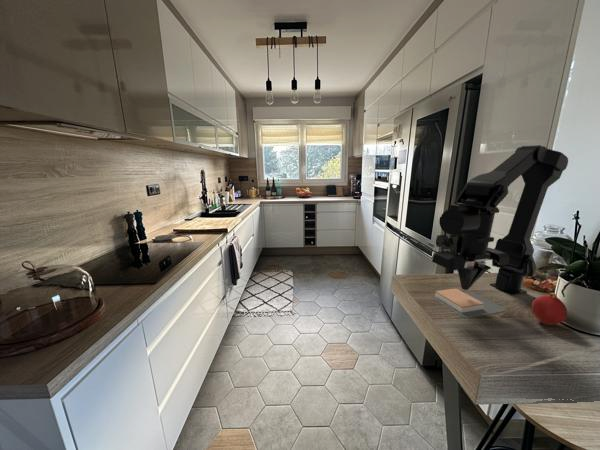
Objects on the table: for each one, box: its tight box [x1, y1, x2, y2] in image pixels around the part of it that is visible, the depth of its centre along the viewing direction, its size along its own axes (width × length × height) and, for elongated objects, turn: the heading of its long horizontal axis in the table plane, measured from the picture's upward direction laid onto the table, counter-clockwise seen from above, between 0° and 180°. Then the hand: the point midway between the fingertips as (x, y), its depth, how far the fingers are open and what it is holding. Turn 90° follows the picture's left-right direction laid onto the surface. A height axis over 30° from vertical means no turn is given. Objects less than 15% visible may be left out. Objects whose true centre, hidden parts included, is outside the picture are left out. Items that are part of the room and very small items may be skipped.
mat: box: [431, 291, 509, 319], centre depth 65 cm, size 14×10×1 cm
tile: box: [434, 288, 484, 313], centre depth 65 cm, size 2×8×7 cm
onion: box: [530, 292, 568, 326], centre depth 57 cm, size 6×6×8 cm
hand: (464, 289), depth 65 cm, fingers closed
